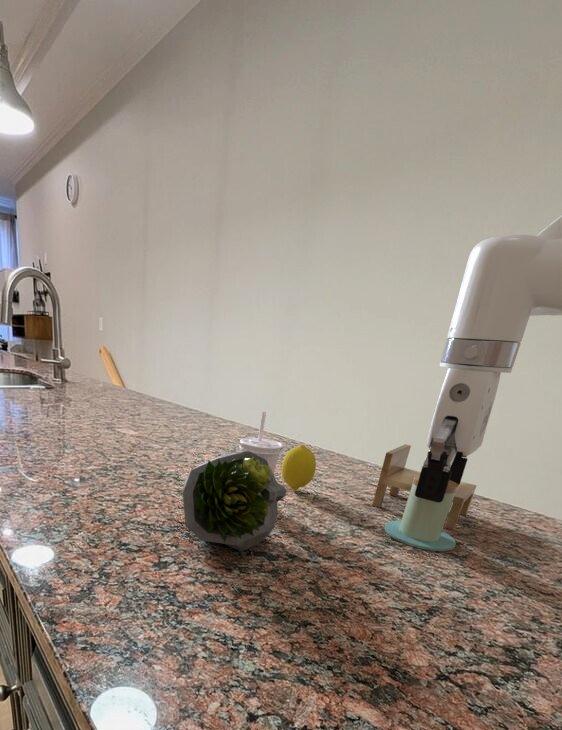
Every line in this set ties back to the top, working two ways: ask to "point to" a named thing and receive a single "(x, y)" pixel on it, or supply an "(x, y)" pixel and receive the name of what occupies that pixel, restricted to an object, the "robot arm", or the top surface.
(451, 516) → the toy wooden bed
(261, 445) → the smoothie
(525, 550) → the top surface
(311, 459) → the lemon
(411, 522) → the spice jar
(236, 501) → the potted plant
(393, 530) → the coaster
